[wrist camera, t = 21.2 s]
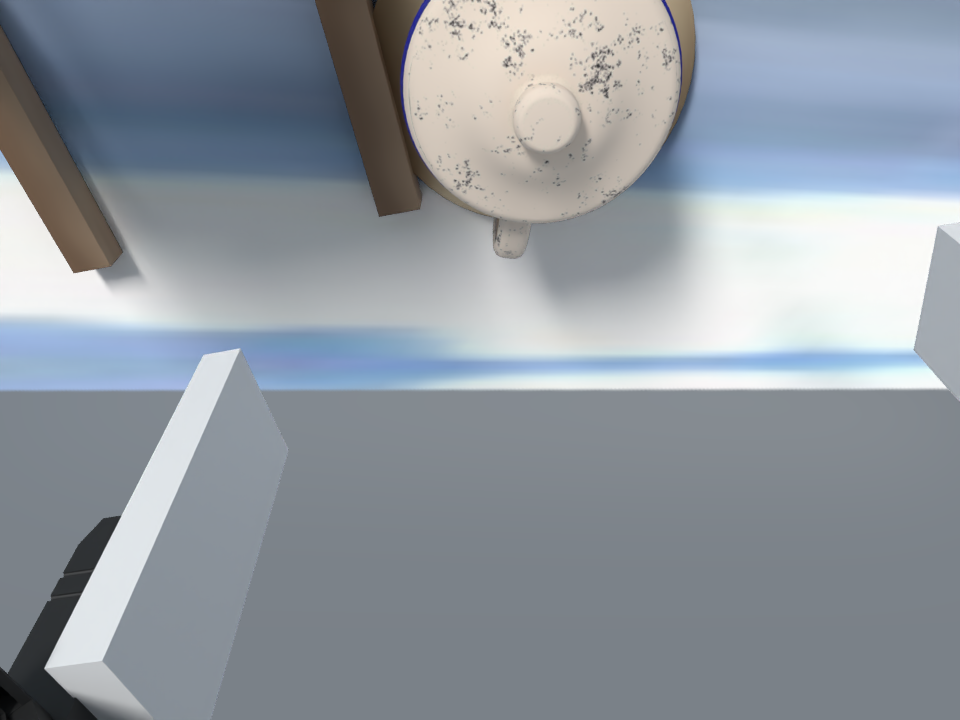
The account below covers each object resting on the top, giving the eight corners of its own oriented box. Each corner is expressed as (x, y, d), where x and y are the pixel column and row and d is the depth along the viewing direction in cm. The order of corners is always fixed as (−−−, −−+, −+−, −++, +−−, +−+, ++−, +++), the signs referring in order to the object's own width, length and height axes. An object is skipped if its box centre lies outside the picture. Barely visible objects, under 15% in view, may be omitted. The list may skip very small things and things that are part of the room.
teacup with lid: (426, -108, 27) (397, -80, 18) (660, -76, 28) (753, -33, 18) (408, 190, 34) (381, 324, 25) (596, 211, 35) (639, 348, 25)
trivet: (414, 236, 36) (413, 243, 36) (328, -81, 28) (324, -79, 28) (694, 185, 35) (697, 192, 34) (686, -165, 27) (691, -165, 26)
